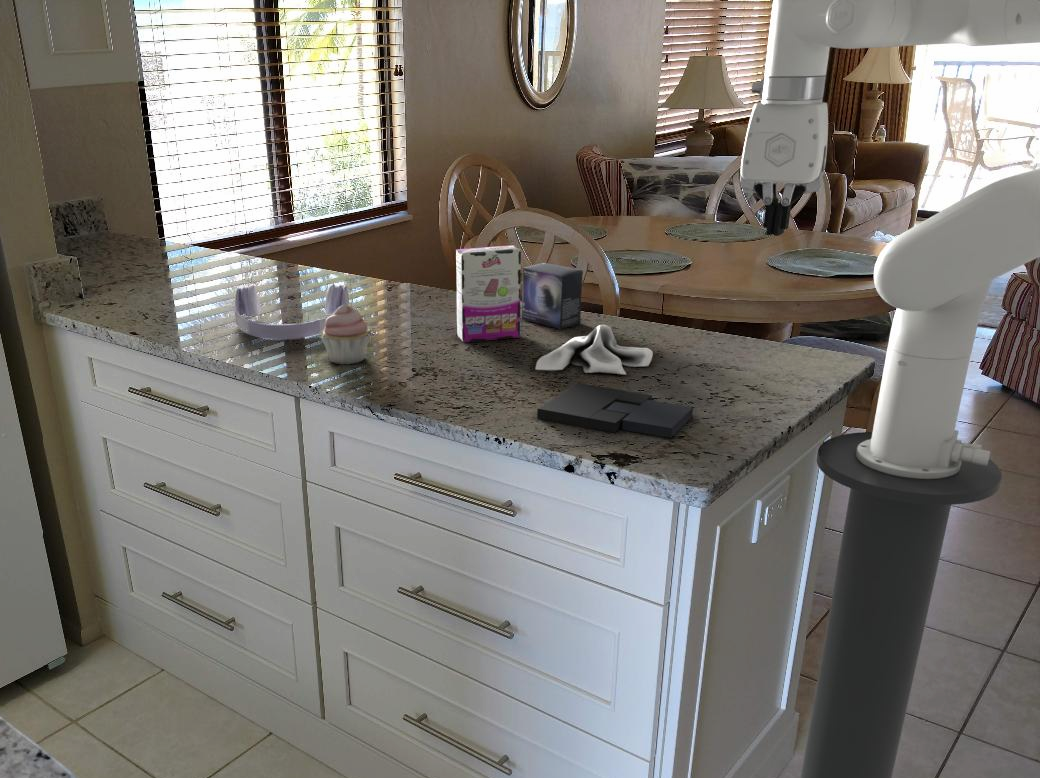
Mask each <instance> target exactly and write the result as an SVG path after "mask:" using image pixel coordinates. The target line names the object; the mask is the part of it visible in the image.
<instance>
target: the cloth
mask: <svg viewBox="0 0 1040 778" xmlns="http://www.w3.org/2000/svg"><path fill="white" fill-rule="evenodd" d="M653 353H654V352H653V350H651V348H648V347H633V346H621V345H619V344H617V340H616V337H615V335H614V333H613V329H612V327H611V326H610V325H607V324H599V325H597V326H596V327H595V328H594V329H593V330H592V331H590V332H589V333H588V334H587V335H583V336H575V337H573V338H571V339H569V340H568V341H567V342H566V343H564V344H562V345H561V346H559V347H558V348H556V349H553V350H552V351H551V352H549V353H547V354H545V355H542V356H541V357H540V358H539V359H537V361H536V364H535V369H534V370H536V371H563V370H564V369H565V368H566V367H567V366H568V365H569V364H570V365H572V366H579V367H582V368H583V372H584V373H585V374H588V373H589V374H593V373H603V374H617V375H625V376H626V375H627V372H626V371H625V370H624V368H623V366H624V367H633V368H637V367H641V368H642V367H649V366H650V363H651V362H652V360H653V359H652V358H653V355H654V354H653Z"/></svg>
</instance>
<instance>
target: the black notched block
mask: <svg viewBox="0 0 1040 778" xmlns="http://www.w3.org/2000/svg"><path fill="white" fill-rule="evenodd" d="M646 400H651V401H653V395H652V394H647V393H641V392H637V391H636V392H635V391H629V390H623V389H619V388H618V389H617V388H612V387H606V386H599V385H596V384H595V385H594V384H589V383H584V382H583V383H582V382H577V383H575V384H574V385H573V386H571V387H569V388H568V389H566V390H565V391H563V392H561V393H560V394H558V395H556V396H555V397H554V398H552V399H550V400H548V401H547V402H546V403H543V404H542V405H540V406H539V407H538V408H537V411H536V418H537V419H540V420H545V421H550V422H554V423H555V422H556V423H560V424H567V425H571V426H577V427H582V428H586V429H594V430H598V431H604V432H608V433H613V434H615V433H617V431H619V430H620V429H622V421H623V419H624V418H626V417H627V414H625V413H620V412H614V411H608V410H605V409H607V408H608V407H609V406H611V405H612V404H613V403H614V402H620V403H627V404H633V405H639V406H640V405H641V404H642V403H643V402H645V401H646Z"/></svg>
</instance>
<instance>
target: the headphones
mask: <svg viewBox="0 0 1040 778" xmlns="http://www.w3.org/2000/svg"><path fill="white" fill-rule="evenodd" d="M235 291H236V292H235V302H234V306H233V310H234V319H235V324H236V326H237V325H238V326H239V327H240V328H239V327H238V326H237V328H238V329H239V330H240V331H241V332H242V333H245V334H247V335H249V336H253V337H256V338H260V339H268V340H294V339H302V338H309V337H312V336H316V335H319V333H322V332H323V330H325V322H326V319H327V318H328V317H330V316H332V315H334V313H335V311H336V310H337V309H338V308H339V307H340V306H342V305H344V304H347V305H349V304H350V296H349V291H348V287H347V285H344V286H343V285H341V284H338V285H336V284H334V283H331V284H329V286H328V289H327V291H326V296H325V301H324V311H325V312H324V314H325V316H324V317H321V318H318V319H315V320H310V321H305V322H301V323H291V324H290V323H288V324H287V323H286V324H283V323H281V324H273V323H271V324H269V323H261V322H257V321H254V320H251V319H253V318H254V317H249V316H258V317H257V318H260V317H261V303H260V299H259V295H258V291H257V287H256V284H254V283H251V284H249V285H248V286H246V285H244V286H242V287H237V289H236V290H235ZM243 314H244V316H242V317H241V315H243ZM259 315H260V316H259ZM326 315H329V316H326ZM246 316H248V317H249V318H248V317H246ZM245 317H246V318H245ZM241 328H242V329H241ZM243 329H244V330H243ZM246 330H247V331H246Z"/></svg>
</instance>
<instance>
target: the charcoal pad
mask: <svg viewBox="0 0 1040 778" xmlns="http://www.w3.org/2000/svg"><path fill="white" fill-rule="evenodd" d="M605 410H608V411H614V412H620V413H625V414H627V417H626V418H624V419H623V421H622V427H621V430H622V431H628V432H632V433H639V434H644V435H651V436H655V437H656V436H657V437H661V438H666V439H672V438H673V437H674V435H676V434H677V432H679V431H680V430H681V429H682V428H683V427H684V426H685V425H686V424H687V423H688V422H689V421H690V420H691V419H692V418H693V416H694V406H690V405H683V404H676V403H670V402H664V401H658V400H652V401H651V400H646V401H645V402H643V403H642V404H641V405H640V406H639V405H633V404H627V403H620V402H614V403H613V404H612V405H611V406H609V407H608V408H607V409H605Z"/></svg>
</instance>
